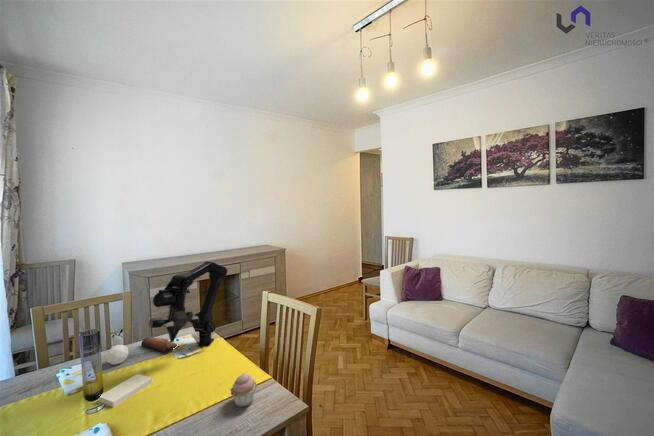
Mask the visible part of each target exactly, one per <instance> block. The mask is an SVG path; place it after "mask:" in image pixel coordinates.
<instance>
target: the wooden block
mask: <svg viewBox="0 0 654 436" xmlns="http://www.w3.org/2000/svg"><path fill="white" fill-rule="evenodd" d="M152 383H153V378H152V377H149V376H146V375H144V374H140V373H136V374H135V375H133V376H131V377H129V378H128V379H126V380H124V381H122V382H121V383H119V384H118V385H116V386H114V387H112V388H110V389H108V391H105V392H103V393H102V394H100V395H101V396H100V395H99V396H100V398H98V402H99V403H101V404H104V405H107V406H108V407H112V408H115V407H116V406H118V405H120V404H121V403H123V402H124V401H126V400H127V399H129V398H130V397H133V396H134V395H136V394H137V393H138V392H140V391H141V390H143V389H145V388H146V387H148V386H149V385H151V384H152Z"/></svg>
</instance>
